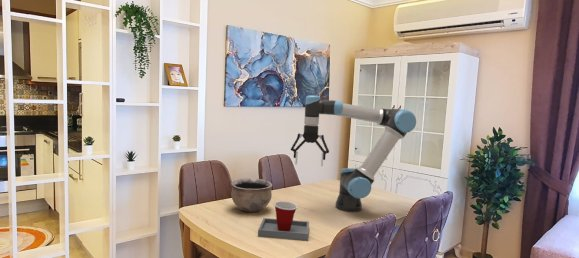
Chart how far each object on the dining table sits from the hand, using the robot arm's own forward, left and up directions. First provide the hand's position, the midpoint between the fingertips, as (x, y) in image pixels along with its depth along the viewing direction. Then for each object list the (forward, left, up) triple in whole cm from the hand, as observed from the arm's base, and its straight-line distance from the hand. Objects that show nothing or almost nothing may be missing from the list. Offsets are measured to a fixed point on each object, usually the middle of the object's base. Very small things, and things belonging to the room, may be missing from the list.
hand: (308, 165), depth 191 cm
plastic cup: (+9, +28, -26) cm, 39 cm away
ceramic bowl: (+30, 0, -27) cm, 40 cm away
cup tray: (+9, +28, -27) cm, 40 cm away
